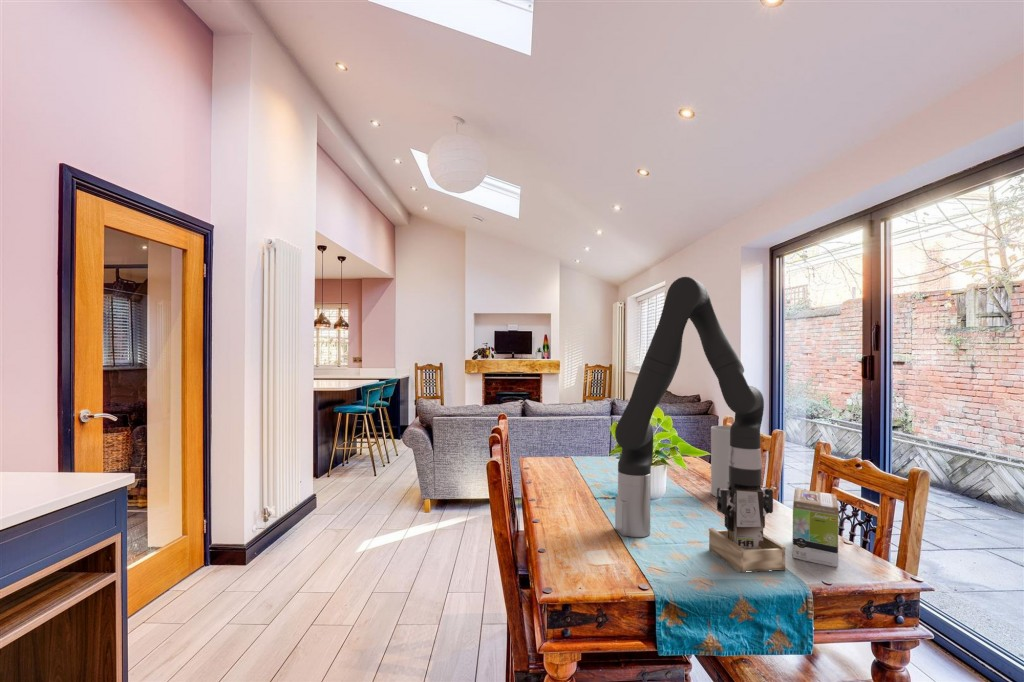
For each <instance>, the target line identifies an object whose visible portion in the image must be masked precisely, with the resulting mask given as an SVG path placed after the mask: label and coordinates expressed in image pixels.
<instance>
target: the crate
mask: <svg viewBox="0 0 1024 682" xmlns="http://www.w3.org/2000/svg"><path fill="white" fill-rule="evenodd" d="M708 532H709V533H708V535H709V537H708V538H709V539H708V542H709V543H708V544H709V545H708V546H709V548H708V550H710V552H712V553H713V554H714V553H715V556H717V557H718V556H719V558H720V560H722V559H723V562H725V563H726V562H727V563H726V564H727V565H729V564H730V565H731V566H730V565H729V566H730V567H732V568H733V567H734V568H735V569H734V568H733V569H734V570H736V571H737V570H738V571H739V573H740V572H745V573H747V572H746V571H767V572H770V571H769V570H785V571H786V548H787V547H786V546H785V545H783V544H781V543H779V542H777V541H775V540H774V539H772V538H771V537H769V536H767V535H765V534H764V533H763V549H750V550H744V549H743V548H742V547H740V546H739V545H737V544H736V543H734V542H733V541H731V540H730V539H728V530H727V529H714V528H713V527H709V528H708ZM738 571H737V572H738Z"/></svg>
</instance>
